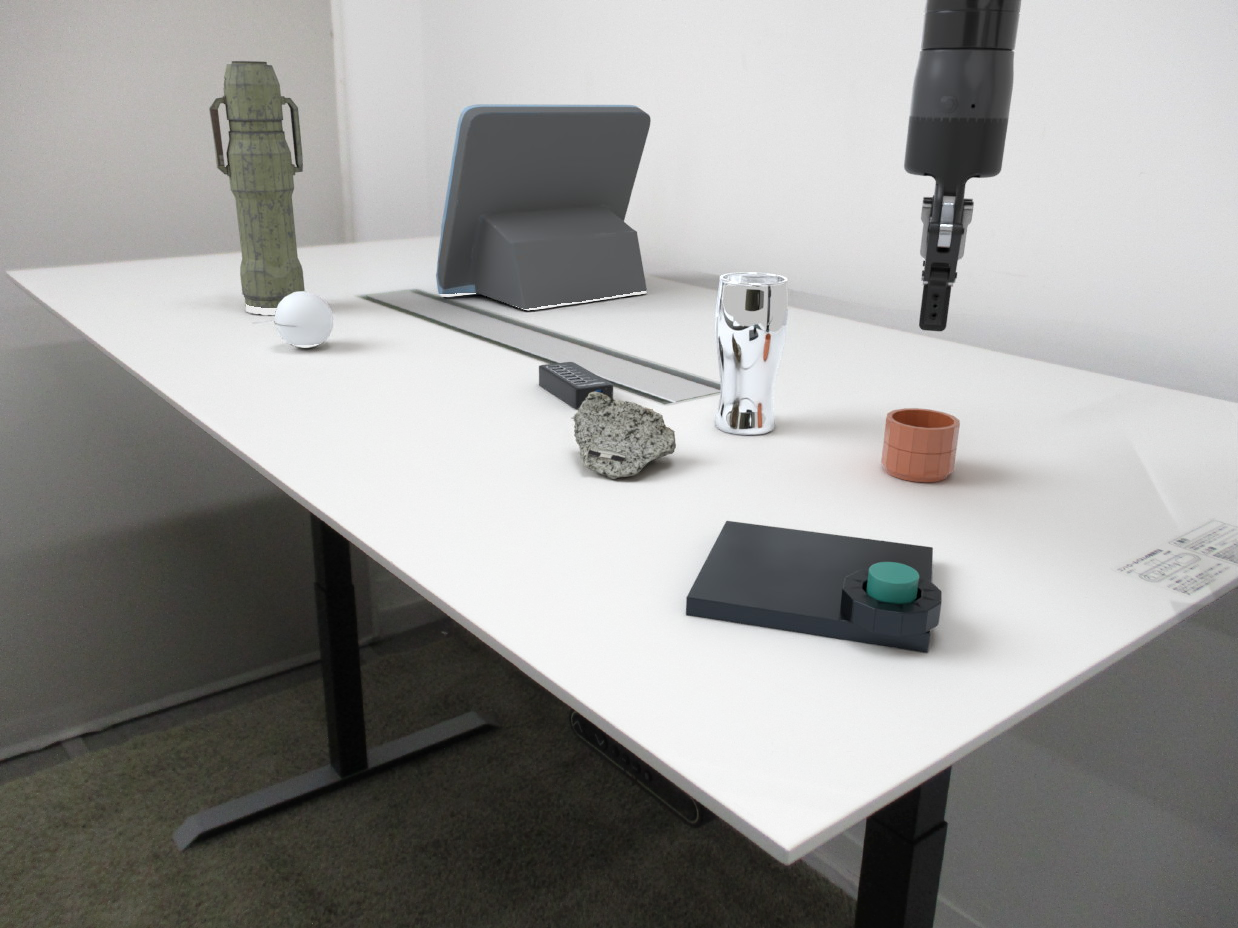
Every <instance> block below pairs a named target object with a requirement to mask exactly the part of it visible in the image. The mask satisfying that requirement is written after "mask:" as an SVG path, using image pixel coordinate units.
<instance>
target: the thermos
mask: <svg viewBox="0 0 1238 928" xmlns="http://www.w3.org/2000/svg"><path fill="white" fill-rule="evenodd" d="M223 79H224V81H223V82H224V83H223V89H222V90H223V95H222V97H216V98H214V100H213V102H212V103H211V105H210V106H209V107H208V112H209V117H210V123H211V124H210V125H211V130H212V136H213V137H212V138H213V145H214V153H215V162H216V163H215V164H216V168H217V170H219V171H220V172H221V173H222V174H224V175H225V176H227V177H228V179H229V187H230V191H231V193H232V194H233V196H234V202H235V207H236V208H235V209H236V217H237V225H238V234H239V243H240V252H241V263H240V267H239V269H240V270H239V276H240V285H241V294H242V295H243V297H244V304H245V303H246V304H247V305H249V306H254V307H261V308H277V306H278V304H279V303H280V302H281V301H282V299H283V298H284V297H286V296H288V295H290V294H291V293H293V292H299V291H306V290H305V279H304V270H303V265H302V264H301V262H300V259H299V256H298V246H297V235H296V225H295V215H294V214H295V213H294V206H293V205H294V204H293V194H294V191H295V181H294V176H296V173H302V172H303V171H304V159H303V157H304V156H303V147H302V136H301V125H300V115H299V114H300V113H299V107H298V106H297V104H296V103H295V102H294V100H293V99H292V98H291V97H285V96H284V95H282V93H281V92H282V91H281V85H280V82H279V79H278V76H277V74H276V71H275V68H274V67H273V65H272V64H268V62H267V61H252V60H231V63H229V64H228V63H227V64H226V65H225V71H224V76H223ZM221 104H223V105H224V106H225V113H226V120H227V121H228V127H229V130H228V132H227V133H228V143H227V149H226V154H225V155H226V161H227V165H226V164H225V156H224V149H223V141H222V133H221V125H220V124H221V123H220V115H219V108H220V105H221ZM286 104H287V105H288V107H289V112H290V121H291V133H292V141H293V152H294V163H295V164H294V163H293V161H292V160H293V159H292V151H291V149H290V147H289V145H288V142H287V140H286V134H285V133H286V132H285V130H283V129H284V128H283V121H284V113H283V112H284V111H283V106H284V105H286Z"/></svg>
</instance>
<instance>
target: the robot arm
mask: <svg viewBox="0 0 1238 928" xmlns="http://www.w3.org/2000/svg"><path fill="white" fill-rule="evenodd" d="M1021 6H1022V0H925V4H924V9H923V18H922V27H921V36H920V45H919V46H920V47H919V50H920V51H919V54H918V59H917V63H916V68H915V72H914V76H913V82H912V88H911V96H910V106H909V116H908V126H907V134H906V142H905V143H906V144H905V152H904V162H903V168H904V171H905V172H906V173H907V174H910V175H914V176H921V177H931V178H933V180H934V181H935V185H934V193H933V195H932V196H922V205H921V213H920V221H921V222H922V232H921V240H920V241H921V242H920V250H919V254H920V256H921V258H923V259H924V260H922V267H923V270H922V271H921V279H920V280H921V282H922V286H923V287H922V295H921V303H920V310H919V311H920V312H919V321H918V327H919V329H921V330H922V331H929V332H943V331H945V330H946V329H947V325H948V323H947V322H948V316H949V309H950V302H951V292H952V288H953V287H954V284H956V280H957V278H958V272H957V267H958V261H960V260H962V259H963V257H964V255H965V247H966V241H967V233H968V226H969V225H970V224H971V223H972V219H973V213H974V205H975V201H974V199H973V198H965V193H966V185H967V183H968V181H969V180H970V179H974V178H975V179H985V178H986V179H987V178H994V177H997V176H998V175H999V174H1001V172H1002V168H1003V160H1004V154H1005V147H1006V141H1007V140H1006V139H1007V132H1008V126H1009V118H1010V110H1011V103H1012V95H1013V89H1014V78H1015V77H1014V75H1015V73H1014V72H1015V71H1014V65H1015V64H1014V63H1015V61H1014V60H1015V52H1014V51H1015V50H1016V43H1017V37H1018V30H1019V22H1020V13H1021Z"/></svg>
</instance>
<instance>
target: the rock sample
mask: <svg viewBox="0 0 1238 928" xmlns="http://www.w3.org/2000/svg"><path fill="white" fill-rule="evenodd" d="M612 394H613V395H614V392H613V393H612ZM611 397H612V396H611ZM585 399H586V400H585V401H583V402H582V405H581V407H579V408H578V409H576V411H577V412H576V413H574V414H573V416H572V417H571V416H570V419H571V420H572V421H573V422H574V427H573V428H574V429H573V431H574V434H573V436H574V437H575V442H576V444H577V445H578V447H579V452H580V453H579V456H580V459H581V460H582V463H583V466H584V467H585V468H587V469H589V470H592V471H594V472H596V473H597V474H599V475H600V476H601V475H602V476H606V477H607V478H609V479H611V480H617V479H618V478H625V477H632V476H637V475H638V474H639V473H640V472H641V471H642V470H643V468H644V467H645V466H646V465H648V463H651V462H653V461H655V460H658V459H661V458H663V457H666V456H668V455H673V454H674V452H675V450H676V449H677V444H676V434H675V430H673V429H672V428H671V427H668V426H667V425H666V424H665V420H664V416H663V415H662V414H661V413H659V412H656V411H654V410H653V408H649V407H646V406H643V405H641V404H638V403H637V402H630V401H627V400H626V401H622V400H620V399H617V400H615V399H614V398H613V399H611V398H609V397H608V395H605V394H602V393H599V392H591V393H589V395H588V397H586V398H585Z"/></svg>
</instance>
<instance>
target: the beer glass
mask: <svg viewBox="0 0 1238 928" xmlns="http://www.w3.org/2000/svg"><path fill="white" fill-rule="evenodd" d="M788 282H789V280H788V277H786V276H784V275H779V274H775V273H767V272H754V271H753V272H752V271H751V272H750V271H749V272H747V271H746V272H745V271H742V272H740V271H739V272H729V273H724V274H722V275H720V276H719V283H718V291H717V298H716V305H715V306H716V308H715V319H714V320H715V324H714V325H715V326H714V327H715V328H714V334H715V348H716V356H717V363H718V370H719V371H718V372H719V380H720V381H719V382H720V392H719V393H720V394H719V403H718V406H717V410H716V415H715V419H714V426H715V427H716V429H718V430H720V431H722V432H726V433H727V434H732V435H739V436H758V435H764V434H768V433H771V432H772V431H774V430H775V428H776V417H775V409H774V391H775V385H776V380H777V375H778V371H779V369H780V365H781V359H782V355H783V353H784V352H783V351H784V347H785V342H786V336H787V328H788V312H789V304H788V303H789V298H788V297H789V294H788V293H789V292H788Z"/></svg>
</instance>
